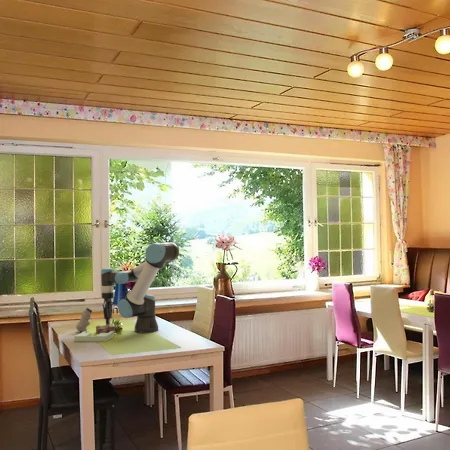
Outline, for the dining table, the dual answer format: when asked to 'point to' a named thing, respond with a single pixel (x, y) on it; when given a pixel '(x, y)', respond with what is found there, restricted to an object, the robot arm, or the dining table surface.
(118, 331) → the dining table surface
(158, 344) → the dining table surface
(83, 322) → the figurine
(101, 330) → the t block
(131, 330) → the dining table surface
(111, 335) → the slot frame
